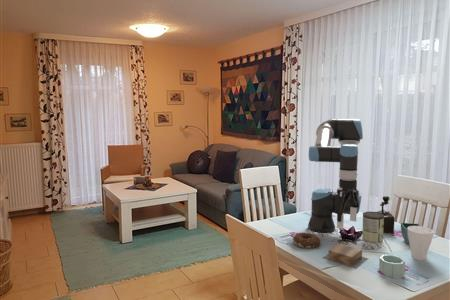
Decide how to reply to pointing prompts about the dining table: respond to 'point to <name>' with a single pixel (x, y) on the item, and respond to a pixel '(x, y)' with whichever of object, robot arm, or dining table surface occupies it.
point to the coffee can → (373, 227)
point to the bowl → (392, 266)
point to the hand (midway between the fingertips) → (346, 224)
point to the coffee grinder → (387, 217)
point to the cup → (419, 241)
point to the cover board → (345, 254)
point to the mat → (346, 264)
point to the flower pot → (404, 230)
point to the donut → (306, 240)
